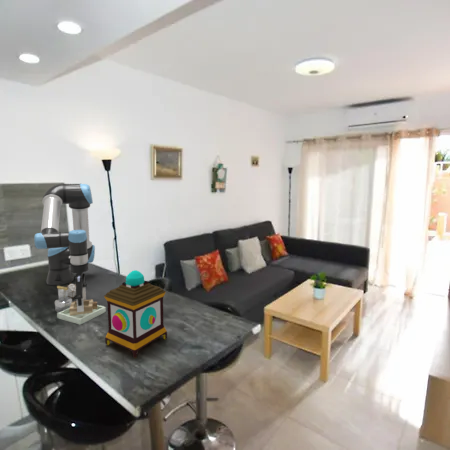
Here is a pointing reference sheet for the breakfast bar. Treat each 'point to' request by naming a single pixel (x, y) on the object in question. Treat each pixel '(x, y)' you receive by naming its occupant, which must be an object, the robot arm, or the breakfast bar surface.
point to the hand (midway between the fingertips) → (81, 305)
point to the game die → (71, 290)
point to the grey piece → (62, 299)
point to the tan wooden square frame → (88, 307)
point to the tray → (81, 315)
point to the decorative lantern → (135, 313)
